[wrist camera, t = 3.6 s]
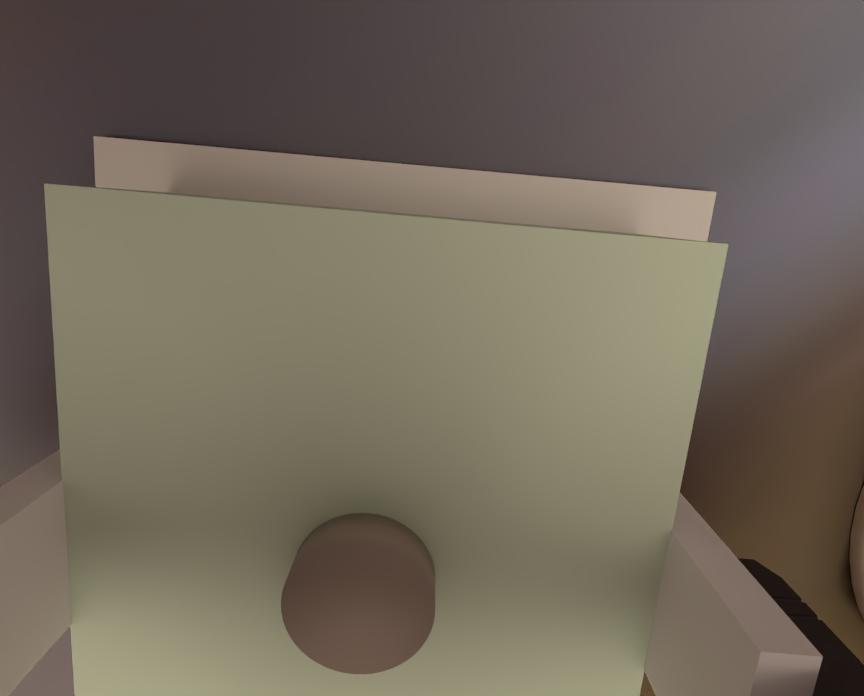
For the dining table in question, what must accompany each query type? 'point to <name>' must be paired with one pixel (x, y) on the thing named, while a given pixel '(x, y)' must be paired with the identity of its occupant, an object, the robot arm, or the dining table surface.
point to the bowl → (858, 553)
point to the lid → (366, 445)
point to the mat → (402, 188)
